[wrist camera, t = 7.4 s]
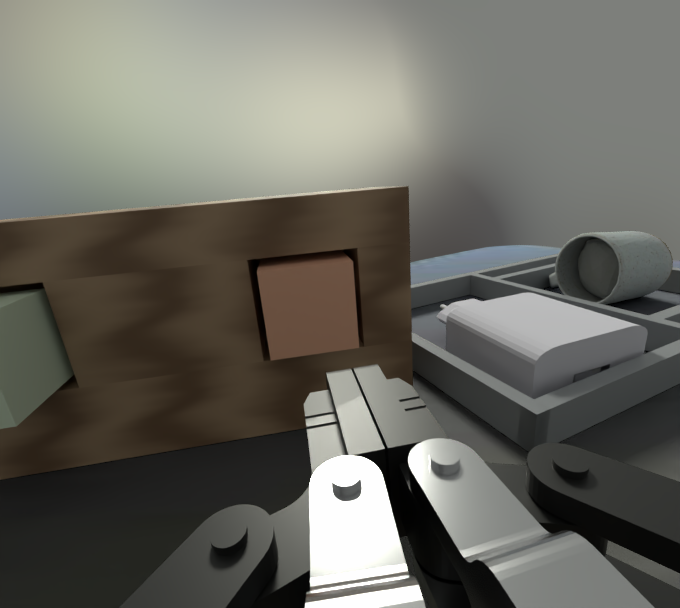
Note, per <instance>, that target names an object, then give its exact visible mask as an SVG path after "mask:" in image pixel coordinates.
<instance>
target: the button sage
mask: <svg viewBox="0 0 680 608" xmlns="http://www.w3.org/2000/svg"><path fill="white" fill-rule="evenodd" d="M73 375H74V372H73V369H72V366H71V363H70V360H69V357H68V354H67V351H66V348H65V346H64V343H63V340H62V337H61V334H60V331H59V328H58V325H57V322H56V320H55V317H54V314H53V311H52V308H51V305H50V302H49V299H48V296H47V294H46V291H45V288H43V289H34V290H25V291H16V292H7V293H0V429H3V428H10V427H16V426H18V425H19V424H20V423H21V422H22V421H23V420H24V419H25V418H26V417H28V416H29V415H30V414H31V413H32V412H33V411H34V410H35V409H36V408H38V407H39V406H40V405H41V404H42V403H43V402H44V401H45V400H46V399H47V398H49V397H50V396H51V395H52V394H53V393H54V392H55V391H56V390H57V389H59V388H60V387H61V386H62V385H63V384H64V383H65V382H66V381H67V380H68V379H70V378H71V377H72V376H73Z"/></svg>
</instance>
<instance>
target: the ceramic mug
mask: <svg viewBox="0 0 680 608" xmlns="http://www.w3.org/2000/svg"><path fill="white" fill-rule="evenodd" d="M672 263H673V261H672V256H671V252H670V250H669V249H668V247H667V245H666V244H665V243H664V242H663V241H662V240H660V239H659V238H657V237H655V236H654V235H651V234H647V233H643V232H637V231H624V232H598V233H595V232H594V233H584V234H581V235H578V236H576V237H574V238H572V239H571V240H569V241H568V242H567V243H566V244H565V245H564V246H563V247H562V249H561V250H560V252H559V254H558V256H557V259H556V263H555V272H554V273H552V274H550V275H549V281H550V286H551V287H552V288H553V287H559V288H560V290H561V292H562V293H563V294H564V295H567V296H571V297H575V298H579V299H583V300H587V301H591V302H595V303H599V304H603V305H605V304H610V303H615V302H619V301H623V300H628V299H633V298H638V297H642V296H645V295H647V294H650V293H652V292H654V291H656V290H657V289H659V288H660V287H661V286H663V284H664V283H665V282H666V281H667V280H668V278H669V276H670V274H671V271H672Z"/></svg>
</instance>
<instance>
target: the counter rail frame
mask: <svg viewBox="0 0 680 608" xmlns="http://www.w3.org/2000/svg"><path fill="white" fill-rule="evenodd" d="M557 256H558V254H554V255H550V256H545V257H540V258H536V259H531V260H526V261H522V262H517V263H512V264H508V265H503V266H498V267H493V268H489V269H484V270H479V271H475V272H470V273H465V274H461V275H456V276H451V277H447V278H442V279H437V280H433V281H428V282H423V283H419V284H414V285H411V309H412V308H416V307H420V306H425V305H429V304H433V303H437V302H441V301H445V300H449V299H454V298H458V297H462V296H466V295H474V296H477V297H480V298H483V299H486V300H491V299H496V298H501V297H506V296H511V295H516V294H520V293H527V292H529V293H534V294H538V295H541V296H544V297H548V298H551V299H554V300H558V301H561V302H564V303H568V304H571V305H574V306H577V307H581V308H584V309H587V310H591V311H594V312H597V313H601V314H604V315H607V316H611V317H614V318H617V319H621V320H624V321H627V322H630V323H634V324H637V325H640V326H643V327H645V328H646V329H647V331H648V334H647V340H646V345H645V350H646V351H649V352H648V353H646V354H643V355H641V356H638V357H636V358H634V359H631V360H629V361H626V362H624V363H621V364H619V365H617V366H614V367H612V368H609V369H607V370H604V371H602V372H599V373H597V374H595V375H592V376H590V377H587V378H585V379H582V380H580V381H577V382H575V383H573V384H570V385H568V386H565V387H563V388H560V389H558V390H556V391H553V392H551V393H548V394H546V395H543V396H541V397H538V398H536V399H532V398H530V397H529V396H527V395H525V394H523V393H521V392H519V391H518V390H516V389H514V388H512V387H510V386H509V385H507V384H505V383H503V382H501V381H500V380H498V379H496V378H494V377H492V376H491V375H489V374H487V373H485V372H483V371H481V370H480V369H478V368H476V367H474V366H472V365H471V364H469V363H467V362H465V361H463V360H462V359H460V358H458V357H456V356H454V355H453V354H451V353H449V352H447V351H445V350H443V349H442V348H440V347H438V346H436V345H434V344H433V343H431V342H429V341H427V340H425V339H424V338H422V337H420V336H418V335H416V334H414V333H413V332H412V367H413V371H415V372H416V373H418V374H419V375H420V376H422V377H423V378H425V379H426V380H428V381H429V382H430V383H432V384H433V385H435V386H436V387H437V388H439V389H440V390H442V391H443V392H445V393H446V394H447V395H449V396H450V397H452V398H453V399H454V400H456V401H457V402H459V403H460V404H461V405H463V406H464V407H466V408H467V409H469V410H470V411H471V412H473V413H474V414H476V415H477V416H478V417H480V418H481V419H483V420H484V421H486V422H487V423H488V424H490V425H491V426H493V427H494V428H495V429H497V430H498V431H500V432H501V433H503V434H504V435H505V436H507V437H508V438H510V439H511V440H512V441H514V442H515V443H517V444H518V445H519V446H521V447H522V448H524V449H525V450H527V451H528V452H530V450H531V449H533V448H534V447H536V446H538V445H541V444H546V443H558V442H560V441H563V440H565V439H567V438H569V437H571V436H573V435H575V434H577V433H579V432H581V431H583V430H585V429H587V428H589V427H591V426H593V425H595V424H597V423H600V422H602V421H604V420H606V419H608V418H610V417H612V416H614V415H616V414H618V413H620V412H622V411H624V410H626V409H628V408H630V407H632V406H634V405H636V404H639V403H641V402H643V401H645V400H647V399H649V398H651V397H653V396H655V395H657V394H659V393H661V392H663V391H665V390H667V389H669V388H671V387H673V386H676V385H678V384H680V305H677V306H674V307H671V308H669V309H666V310H663V311H660V312H657V313H654V314H651V315H644V314H640V313H636V312H632V311H628V310H624V309H620V308H616V307H612V306H607V305H603V304H599V303H595V302H591V301H587V300H583V299H579V298H575V297H571V296H567V295H562V294H558V293H554V292H550V291H546V290H542V288H545V287H549V286H550V281H549V275H550V274H552V273H554V272H555V263H556V259H557ZM658 290H664V291H669V292H674V293H680V268H673V267H672V271H671V274H670V276H669V278H668V280H667V281H666V282H665V283H664V284H663V286H661V287H660V288H659V289H658Z"/></svg>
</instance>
